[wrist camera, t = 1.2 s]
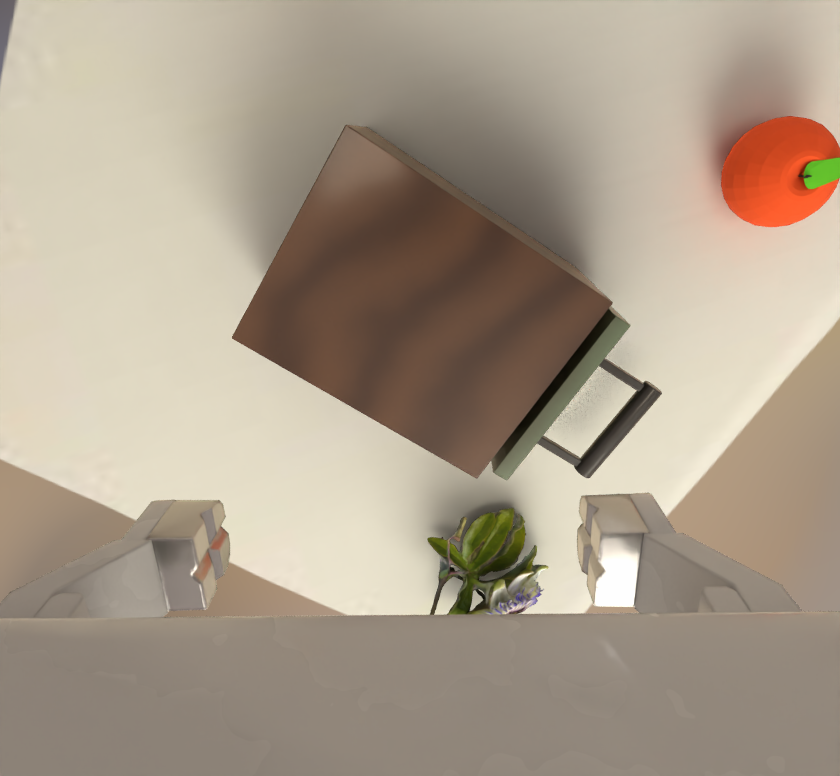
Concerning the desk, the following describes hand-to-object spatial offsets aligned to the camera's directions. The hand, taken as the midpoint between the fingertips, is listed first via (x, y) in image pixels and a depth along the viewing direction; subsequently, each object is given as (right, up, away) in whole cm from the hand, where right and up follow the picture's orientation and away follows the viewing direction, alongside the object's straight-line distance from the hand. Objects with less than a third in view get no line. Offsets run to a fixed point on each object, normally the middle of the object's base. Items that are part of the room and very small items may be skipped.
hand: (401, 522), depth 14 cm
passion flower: (+6, -13, +43) cm, 46 cm away
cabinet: (+1, +11, +34) cm, 36 cm away
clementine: (+25, +19, +30) cm, 43 cm away
